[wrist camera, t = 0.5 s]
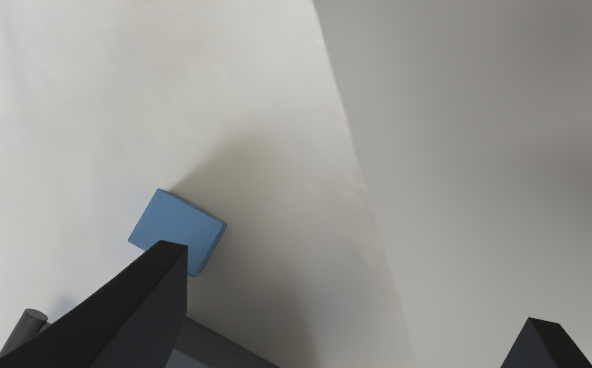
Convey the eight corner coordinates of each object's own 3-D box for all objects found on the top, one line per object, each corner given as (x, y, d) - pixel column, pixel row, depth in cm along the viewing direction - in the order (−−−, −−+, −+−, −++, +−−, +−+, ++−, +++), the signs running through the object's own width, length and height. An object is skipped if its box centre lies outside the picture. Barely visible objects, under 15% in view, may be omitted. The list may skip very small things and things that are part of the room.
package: (200, 272, 37) (194, 277, 33) (140, 239, 37) (127, 241, 33) (227, 224, 37) (223, 224, 34) (167, 191, 37) (157, 187, 34)
